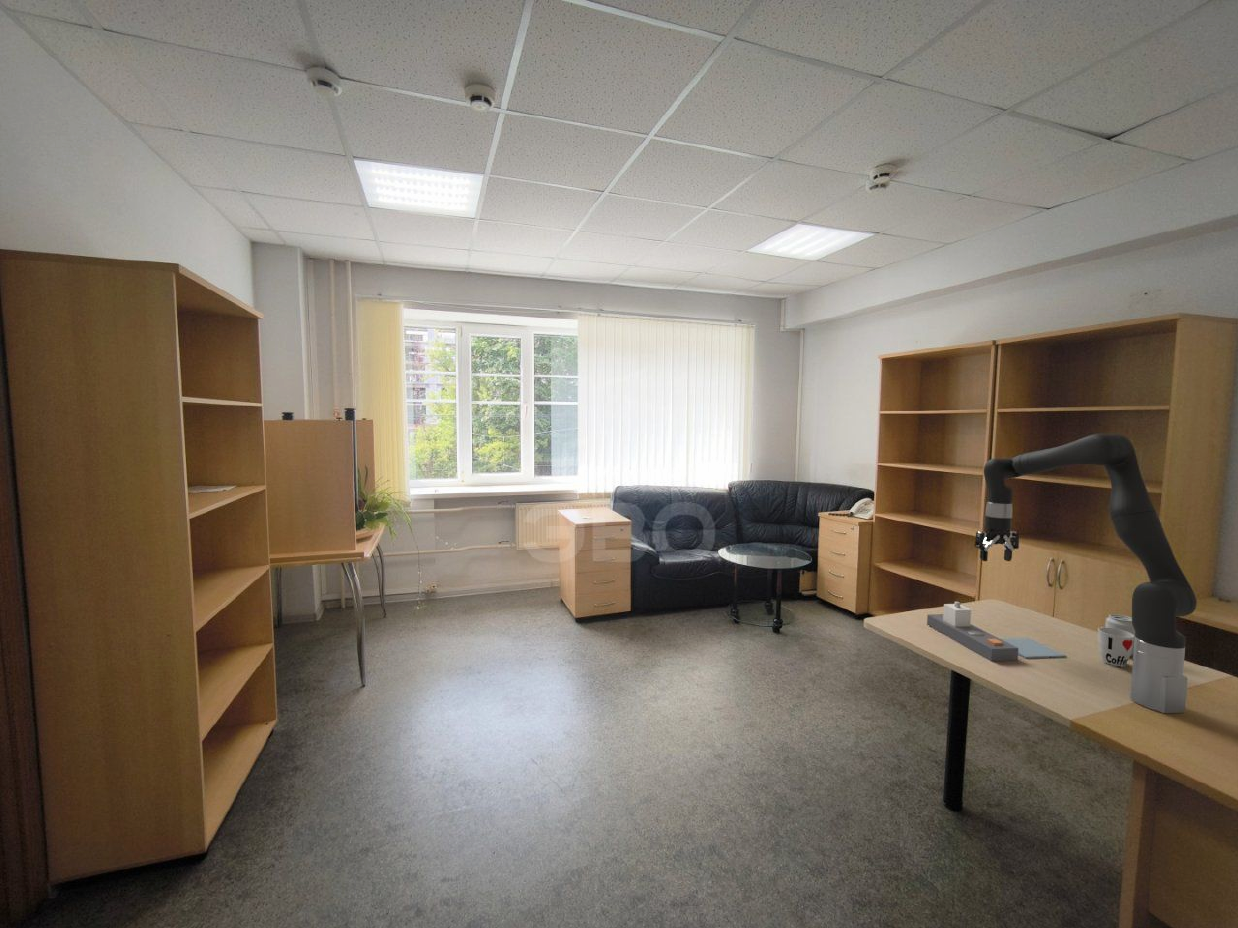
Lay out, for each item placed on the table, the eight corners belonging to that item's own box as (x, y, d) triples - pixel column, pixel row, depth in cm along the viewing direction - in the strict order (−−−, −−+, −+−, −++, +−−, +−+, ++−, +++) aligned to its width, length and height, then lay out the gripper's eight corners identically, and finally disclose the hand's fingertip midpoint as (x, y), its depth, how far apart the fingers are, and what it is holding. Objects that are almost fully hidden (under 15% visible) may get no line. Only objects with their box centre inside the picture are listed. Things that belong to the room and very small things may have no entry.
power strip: (1017, 660, 162) (1018, 645, 162) (991, 661, 162) (991, 646, 161) (949, 624, 192) (950, 611, 192) (927, 624, 192) (927, 612, 191)
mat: (1065, 657, 165) (1066, 655, 165) (1025, 658, 164) (1025, 656, 164) (1028, 639, 179) (1028, 637, 179) (990, 640, 178) (990, 638, 178)
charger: (970, 631, 180) (971, 605, 180) (954, 631, 180) (955, 605, 179) (957, 625, 186) (959, 599, 185) (942, 625, 186) (944, 599, 185)
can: (1121, 648, 172) (1124, 613, 171) (1142, 658, 164) (1145, 621, 164) (1097, 647, 173) (1100, 612, 172) (1116, 656, 165) (1119, 620, 164)
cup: (1101, 665, 159) (1103, 634, 158) (1092, 655, 166) (1094, 625, 165) (1136, 671, 155) (1138, 639, 155) (1125, 660, 162) (1127, 630, 162)
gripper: (987, 517, 175) (984, 563, 176) (1027, 517, 176) (1023, 563, 177) (971, 513, 183) (968, 558, 184) (1009, 513, 183) (1006, 557, 185)
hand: (995, 560), depth 181 cm, fingers open, 8 cm apart
